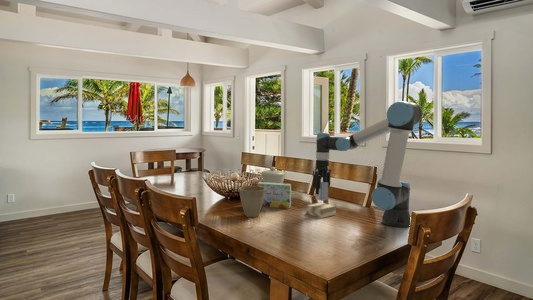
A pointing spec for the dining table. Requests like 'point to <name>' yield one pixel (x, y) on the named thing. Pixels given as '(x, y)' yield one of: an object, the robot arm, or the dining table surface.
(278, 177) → the canister
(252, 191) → the plant pot
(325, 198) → the slate-blue block
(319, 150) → the robot arm
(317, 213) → the maple riser
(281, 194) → the snack box
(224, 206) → the dining table surface
